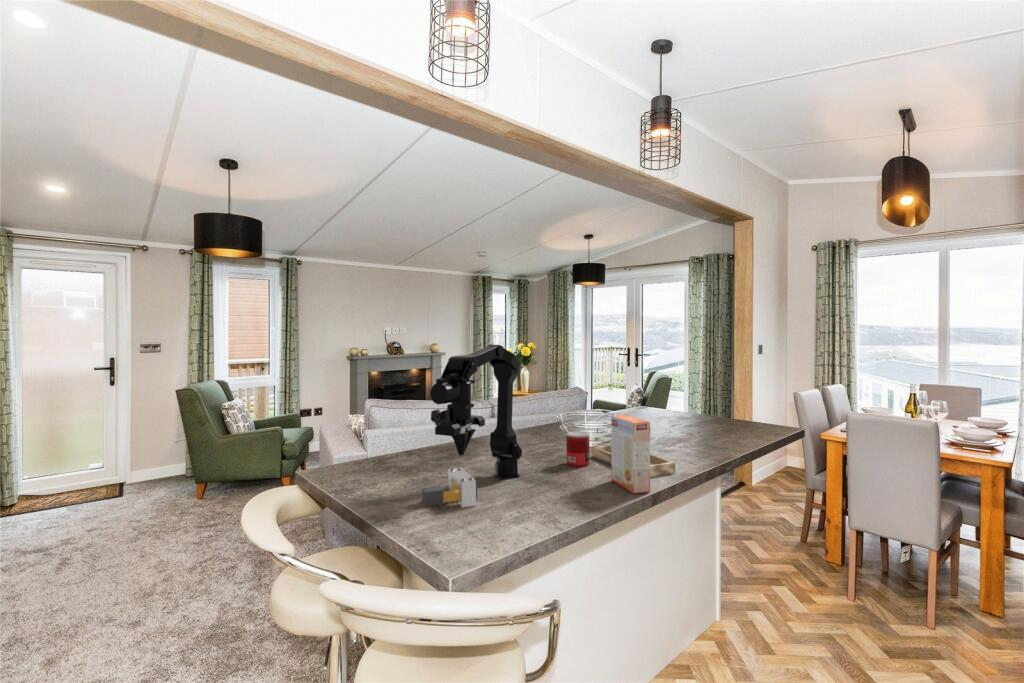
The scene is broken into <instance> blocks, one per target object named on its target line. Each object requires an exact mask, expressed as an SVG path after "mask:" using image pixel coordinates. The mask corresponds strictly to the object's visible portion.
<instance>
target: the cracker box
mask: <svg viewBox="0 0 1024 683" xmlns="http://www.w3.org/2000/svg"><path fill="white" fill-rule="evenodd" d="M611 445H612V464H611V481H612V482H614V483H616V484H617V485H619V486H621V487H622V488H623V489H625V490H626V491H628V492H629V493H631V494H633V495H634V494H636V495H637V494H644V493H645V494H646V493H651V477H650V454H651V422H650V421H648V420H643V419H642V418H638V417H635V416H631V415H629V414H616V415H615V414H614V415H611Z"/></svg>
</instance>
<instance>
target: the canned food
mask: <svg viewBox="0 0 1024 683" xmlns="http://www.w3.org/2000/svg"><path fill="white" fill-rule="evenodd" d="M566 463H567V465H568V466H569V467H574V468H585V467H588V466H589V465H590V434H589V432H587V431H576V430H575V431H569V432H567V433H566Z"/></svg>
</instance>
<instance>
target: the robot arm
mask: <svg viewBox="0 0 1024 683" xmlns="http://www.w3.org/2000/svg"><path fill="white" fill-rule="evenodd" d="M486 364H489V365H490V366H491V367H492V368H493V375H494V377H495V380H496V381H497V408H496V410H497V413H496V427H495V429H494V430H493V431H491V432H490V435H489V438H490V440H489V441H490V442H489V446H490V447H489V448H490V451H491V455H492V457H493V458H496V461H495V463H494V465H495V468H494V470H495V471H494V472H495V473H494V475H496V476H497V477H498V478H499V479H501V480H505V479H511V478H519V477H521V475H520V474H519V473H518V470H519V469H518V460H520V459H521V457H522V455H523V449H522V448H521V447H520V445H519V443H518V441H517V434H516V432H515V430H514V429H513V402H514V401H513V398H514V382H515V380H516V379H517V377H518V376H519V370H520V365H521V362H520V359H519V358H518V357H517V356H516V355H515V354H514V353H513V352H511V351H509V350H507V349H506V348H505V347H504V345H501V344H488V345H487V346H485V347H483V348H481V349H479V350H476V351H473V352H471V353H469V354H465V355H463V354H461V355H452V356H450V357H449V358H448V361H447V363H446V365H445V366H444V370H443V371H442V374H441V375H440V378H436V380H435V382H436V383H434V384H433V385H432V387H431V389H430V392H429V394H430V399H431V401H432V402H433V403H434V404H436V405H444V404H447V406H446V409H445V410H442V411H441V410H440V409H435V410H431V412H430V421H432V422H433V423H434V425H435V426H434V435H437V436H447V437H451V438H452V439H453V441H454V444H455V447H456V450H457V454H458V455H459V456H460V457H462V456H464V454H466V450H467V449H468V447H469V444H470V441H471V439H472V437H473V435H474V434H475V432H476V429H474V428H472V426H473V425H474V426H479V427H484V426H486V419H485V417H484V416H483V415H475V414H472V408H474V407H475V403H474V402H473V403H472V384H473V385H474V384H475V383H476V381H475V379H473V377H472V376H473V375H474V374H476V373H477V371H478V368H479V367H481V366H483V365H486ZM448 403H449V404H448Z"/></svg>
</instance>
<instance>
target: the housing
mask: <svg viewBox="0 0 1024 683" xmlns="http://www.w3.org/2000/svg"><path fill="white" fill-rule="evenodd" d="M447 473H448V475H447V478H448V480H447V481H448V491H452V490H458V501H457V502H458V505H459V506H460V507H461V509H464V508H470V507H477V499H476V486H477V484H476V483H477V480H476V479H474V477H472V476H471V474H469V473H468V472H467V471H466V470H465V469H464V468H463V467H453V468H448V469H447Z"/></svg>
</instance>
